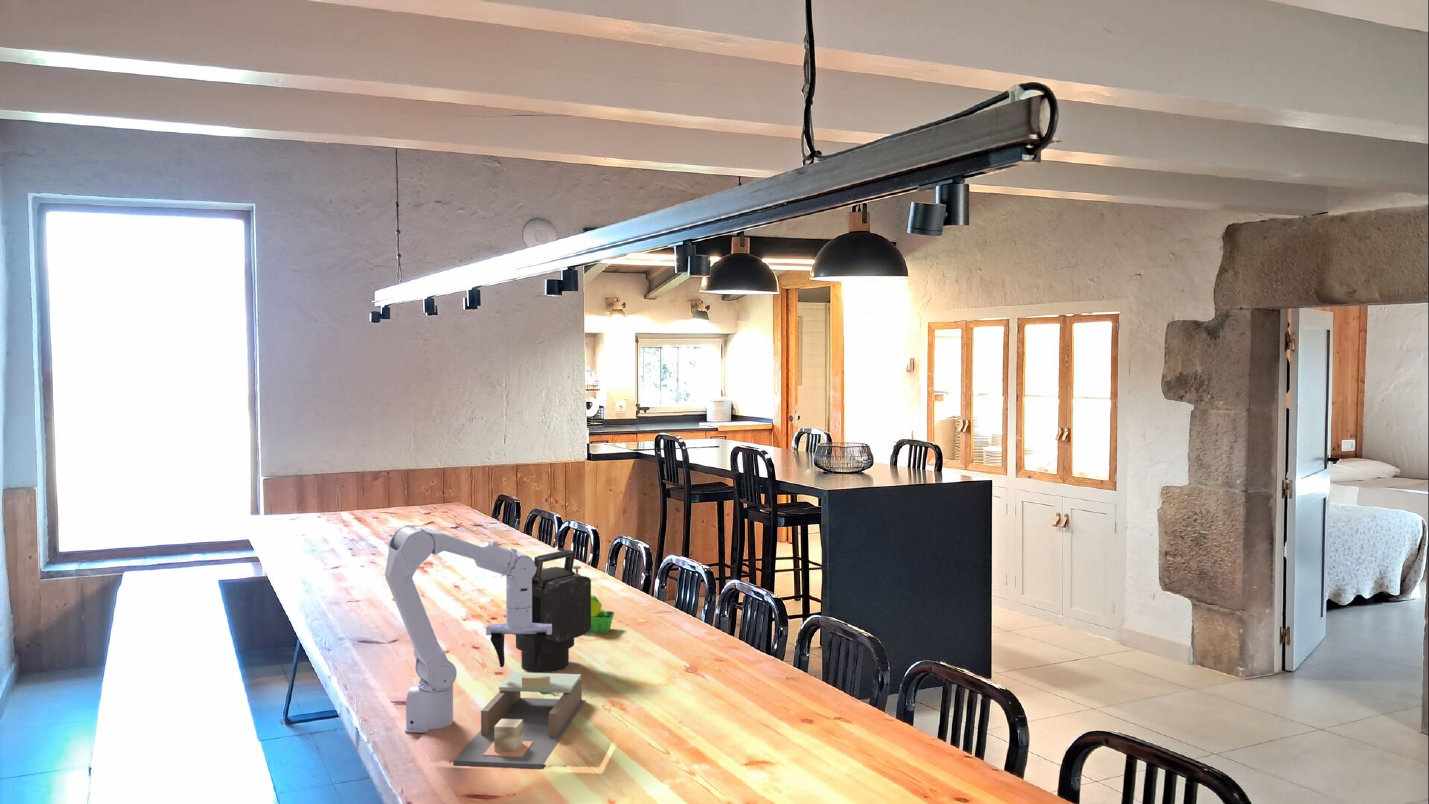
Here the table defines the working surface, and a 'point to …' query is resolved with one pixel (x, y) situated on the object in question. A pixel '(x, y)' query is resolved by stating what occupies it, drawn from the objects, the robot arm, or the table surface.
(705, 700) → the table surface
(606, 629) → the fruit basket
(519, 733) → the block
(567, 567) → the lantern
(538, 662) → the robot arm
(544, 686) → the lid
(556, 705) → the board
